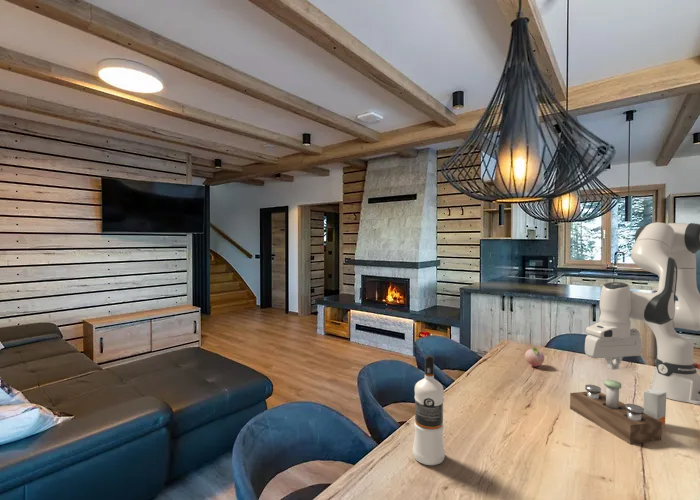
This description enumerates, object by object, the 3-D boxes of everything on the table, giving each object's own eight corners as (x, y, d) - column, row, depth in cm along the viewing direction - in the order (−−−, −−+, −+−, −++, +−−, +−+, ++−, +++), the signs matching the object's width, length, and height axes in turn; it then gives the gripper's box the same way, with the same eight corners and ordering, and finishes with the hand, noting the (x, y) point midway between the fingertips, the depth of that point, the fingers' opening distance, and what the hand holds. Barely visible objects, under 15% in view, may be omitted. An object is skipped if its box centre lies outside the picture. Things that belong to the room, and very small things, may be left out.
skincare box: (657, 430, 121) (658, 395, 121) (642, 424, 125) (643, 390, 125) (665, 426, 124) (667, 392, 124) (651, 420, 128) (652, 387, 127)
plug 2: (632, 430, 121) (633, 403, 121) (647, 437, 116) (647, 409, 116) (620, 431, 120) (621, 404, 120) (634, 439, 115) (635, 411, 115)
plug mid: (611, 404, 129) (612, 379, 128) (624, 411, 124) (625, 384, 124) (600, 405, 128) (600, 380, 128) (612, 412, 123) (613, 385, 123)
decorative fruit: (522, 363, 186) (522, 344, 186) (539, 364, 185) (539, 344, 185) (528, 369, 177) (528, 349, 177) (546, 370, 176) (546, 350, 176)
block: (597, 405, 139) (597, 390, 139) (661, 440, 115) (661, 421, 115) (569, 408, 137) (570, 393, 137) (629, 444, 113) (630, 425, 113)
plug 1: (592, 408, 137) (593, 384, 136) (603, 414, 132) (604, 389, 132) (581, 409, 136) (582, 385, 136) (592, 415, 131) (592, 390, 131)
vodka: (446, 452, 109) (447, 353, 108) (442, 470, 100) (443, 363, 99) (415, 445, 112) (416, 349, 111) (409, 462, 104) (410, 359, 103)
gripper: (630, 326, 130) (629, 364, 130) (581, 328, 126) (580, 367, 127) (648, 330, 124) (646, 370, 124) (597, 333, 120) (596, 374, 121)
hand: (613, 368), depth 125 cm, fingers closed
